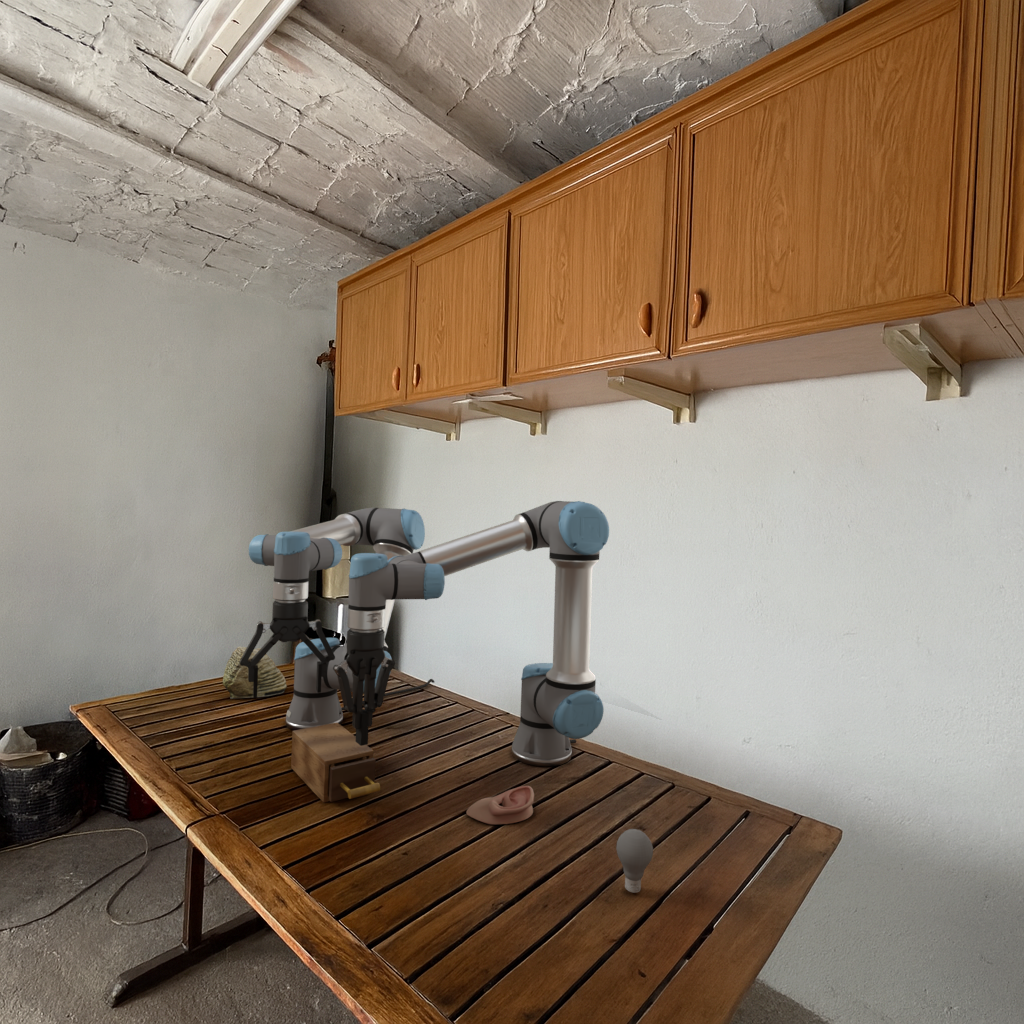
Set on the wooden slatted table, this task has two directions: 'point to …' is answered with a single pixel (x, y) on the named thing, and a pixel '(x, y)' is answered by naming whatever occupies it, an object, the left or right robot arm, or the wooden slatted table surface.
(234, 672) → the fossil
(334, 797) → the drawer
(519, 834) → the wooden slatted table surface
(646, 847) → the light bulb
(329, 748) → the cabinet
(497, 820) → the anatomical model
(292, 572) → the left robot arm
